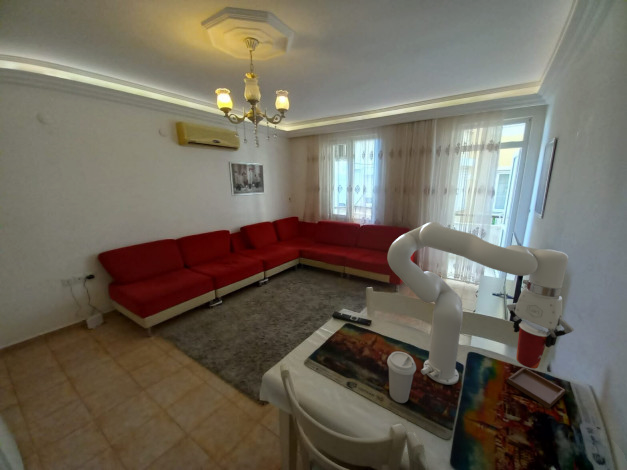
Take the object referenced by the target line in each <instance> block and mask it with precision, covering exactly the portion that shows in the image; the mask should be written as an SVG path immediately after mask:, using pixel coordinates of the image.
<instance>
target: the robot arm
mask: <svg viewBox="0 0 627 470" xmlns="http://www.w3.org/2000/svg"><path fill="white" fill-rule="evenodd" d="M425 247H428V248H431V249H435V250H437V251H440V252H445V253H448V254H451V255H456V256H459V257H463V258H465V259H467V260H469V261H472V262H474V263H477V264H479V265H481V266H483V267H486V268H489V269H491V270H495V271H499V272H502V273H505V274H509V275H512V276H513V275H514V276H517V277H518V276H519V277H524V276H525V277H526V276H528V279H523V280H522V284H523V285H526V286H525V287H523V288H522V290H521V292H520V294H519V297H518V299H517V302H514V303H508V304H506V308H507V310H508V312H509V314H510V316H511V317H512V320H513V325H512V328H514V329H513V332H514V333H519V330H520V326H519V323H521V321H523V320H527V321H529V322H532V323H534V324H537V325H539V326H542V327H544V328H547V329H548V331H549V333H550V335H548V337H547V341H546V346H545V348H550V347H552V346H555V345H556V343H557V338H558V337H563V336H565V335H568V334H570V333H573V332H574V331H575V329H574V328H573V327H572V326H571V325H570V324H569V323H568V322H567V321H566V320H565V319H564V318H563V308H564V307H563V305H564V304H563V297H562V296H561V292H562V287H563V283H564V279H565V275H566V271H567V266H568V262H569V255H568V254H567V253H565V252H564V251H559V250H554V249H547V248H546V249H545V248H542V249H541V248H540V249H539V248H533V247H529V246H525V245H518V244H511V245H507V246H505V247H504V246H499V245H497V244H494V243H491V242H488V241H486V240H485V239H483V238H481V237H479V236H477V235H475V234H473V233H471V232H467V231H462V230H457V229H453V228H450V227H445V226H443V225H442V223H440V222H436V221H430V222H427V223H425V224H423V225H421V226H419V227H416V228H414V229H412V230H409V231H408V232H406V233H403V234H402V235H400V236H399V237H398V238H396V239H395V240H394V241H393V242H392V243H391V245H390V246H389V248H388V251H387V255H386V256H387V257H386V259H387V264H388V266H389V268H390V269H391V271H392V272H393V273H394V274H395V275H396V276H397V277H398V278H399V279H400V280H401V281H402V282H403V283H404V285H405V286H406V287H407V288H408V289H409V290H410V291H411V292H412V293H413V294H414V295H415V296H416V298H418V299H419V300H420V301H422V302H423V303H428V304H431V303H434V306H433V311H432V321H431V322H432V324H431V331H430V342H429V352H428V359H426V360H424V362H423V368H421V369H420V373H421V375H422V376H428V377H429V378H430V379H431V380H433V381H434V382H437V383H439V384H442V385H448V386H450V385H455V384H457V383H458V382H459V379H460V374H459V372H458V370H457V369H456V367H457V358H458V351H459V344H460V337H461V336H460V335H461V330H462V326H463V320H464V309H463V301H462V298H461V297H460V296H459V294H458V293H457V292H456V291H455V290H454V289H453V288H452V287H451V286H450V285H449V284H448V283H447V282H446V281H445V280H444V279H443V278H442V277H441V276H439V275H438V274H437V273H435V272H433V271H429V270H428V271H424V270H422V269H421V267H420V266H419V265H417V264H416V263H415V262H413V261H412V259H411V257H412V256H413V254H414V253H415V252H416V251H418V250H422V249H423V248H425ZM559 326H561V327H562V328H563V329H560V330H559V329H558V327H559Z"/></svg>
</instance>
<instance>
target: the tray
mask: <svg viewBox="0 0 627 470" xmlns="http://www.w3.org/2000/svg"><path fill="white" fill-rule="evenodd" d="M506 383H507V384H509V385H510V386H512V387H514V388H515V389H517V390H518V391H520V392H521V393H523V394H525V395H526V396H528V397H529V398H531V399H533V400H534V401H535V402H537V403H539V404H541V405H542V406H543V407H545V408H546V409H551V408H552V407H553V406H554V405H555V404H556V403H557V402H558V401H559V400H560V399H561V398H562V397H563V396H564V395H565V393H566V389H564V388H563V387H561V386H559V385H557V384H556V383H554V382H552V381H550V380H548V379H546V378H544V377H543V376H541V375H539V374H537V373H535V372H533V371H532V370H530V369H529V368H527V367H525V366H523V367H522V368H521V369H519V370H517V371H516V372H515V373H513V374H512V375H510V376H509V377H507V381H506Z"/></svg>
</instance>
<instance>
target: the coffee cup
mask: <svg viewBox="0 0 627 470" xmlns="http://www.w3.org/2000/svg"><path fill="white" fill-rule="evenodd" d="M386 361H387V362H386V363H387V364H386V365H387V366H388V387H389V388H388V389H389V390H388V391H389V396H390V398H391V399H392V400H393V401H395V402H397V403H400V404H405V403H407V402H408V401H409V399H410V394H411V389H412V383H413V380H414V375H415V372H416V371H417V365H416V362H415V361H414V358H413V357H412V356H411V355H410V354H409V353H407V352H404V351H392V352H391V354H389V355H388V358H387V359H386Z"/></svg>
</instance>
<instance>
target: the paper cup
mask: <svg viewBox="0 0 627 470" xmlns="http://www.w3.org/2000/svg"><path fill="white" fill-rule="evenodd" d="M519 326H520V330H519V332H518V337H517V338H518V341H517V348H516V357H515V359H516V361H517V363H519V364H520V365H522V366H523V367H525V368H527V369H534V370H535V369H538V368H539V367H540V363H541V361H542V358H543V354H544V351H545V349H546V341H547V337H548V335H550V333H549V331H548V329H547V328H544V327H542V326H539V325H537V324H534V323H532V322H529V321H527V320H525V319H522V321H521V323H519Z"/></svg>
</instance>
